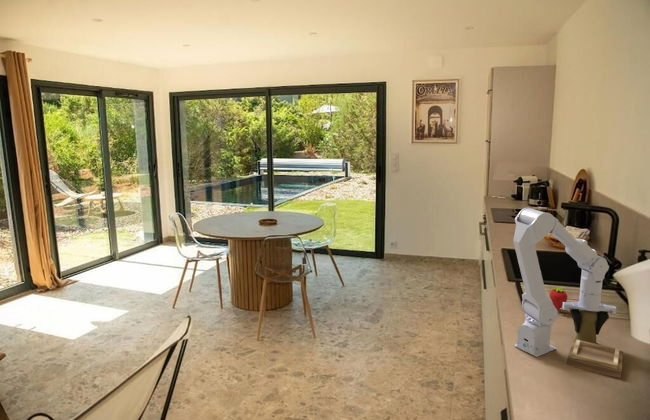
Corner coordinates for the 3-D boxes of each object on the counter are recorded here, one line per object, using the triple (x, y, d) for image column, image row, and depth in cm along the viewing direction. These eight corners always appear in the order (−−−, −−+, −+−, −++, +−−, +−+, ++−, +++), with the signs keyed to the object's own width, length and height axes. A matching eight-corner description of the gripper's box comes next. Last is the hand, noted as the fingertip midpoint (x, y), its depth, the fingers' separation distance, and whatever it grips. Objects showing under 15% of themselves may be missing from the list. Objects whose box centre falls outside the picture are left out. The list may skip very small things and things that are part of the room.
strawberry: (550, 313, 162) (552, 287, 160) (546, 305, 169) (548, 280, 167) (568, 314, 160) (570, 288, 158) (563, 306, 167) (565, 281, 166)
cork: (576, 336, 144) (579, 304, 142) (598, 341, 140) (601, 309, 138) (572, 343, 139) (575, 310, 137) (594, 348, 136) (598, 315, 134)
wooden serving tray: (620, 378, 120) (621, 368, 119) (566, 364, 127) (567, 355, 127) (622, 357, 130) (623, 348, 130) (572, 346, 138) (573, 337, 137)
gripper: (612, 289, 138) (608, 329, 141) (561, 285, 142) (558, 324, 145) (620, 297, 132) (616, 339, 134) (567, 293, 136) (563, 334, 138)
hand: (586, 332), depth 139 cm, fingers closed on cork, 5 cm apart
